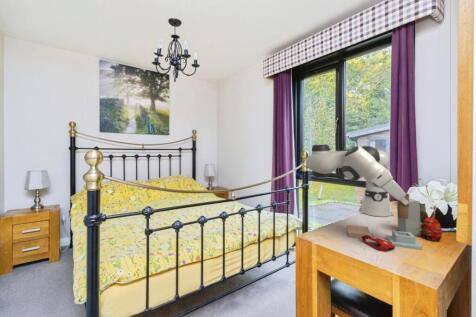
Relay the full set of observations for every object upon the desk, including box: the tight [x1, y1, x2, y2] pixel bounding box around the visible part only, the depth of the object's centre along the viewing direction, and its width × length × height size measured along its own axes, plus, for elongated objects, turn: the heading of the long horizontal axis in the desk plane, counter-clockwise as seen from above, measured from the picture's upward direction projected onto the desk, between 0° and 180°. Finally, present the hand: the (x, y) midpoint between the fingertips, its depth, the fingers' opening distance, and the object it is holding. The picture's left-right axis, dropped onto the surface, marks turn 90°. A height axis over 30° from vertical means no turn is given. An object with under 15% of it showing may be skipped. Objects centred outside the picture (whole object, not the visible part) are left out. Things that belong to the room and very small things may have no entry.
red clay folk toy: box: [420, 204, 443, 242], centre depth 105 cm, size 8×7×15 cm
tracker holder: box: [360, 234, 396, 252], centre depth 97 cm, size 12×4×10 cm
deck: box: [346, 224, 373, 239], centre depth 111 cm, size 12×9×2 cm
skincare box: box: [396, 198, 422, 237], centre depth 113 cm, size 8×7×16 cm
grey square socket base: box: [386, 229, 423, 251], centre depth 100 cm, size 10×10×4 cm
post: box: [397, 192, 410, 219], centre depth 100 cm, size 3×3×10 cm
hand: (405, 202), depth 99 cm, fingers closed on post, 3 cm apart
